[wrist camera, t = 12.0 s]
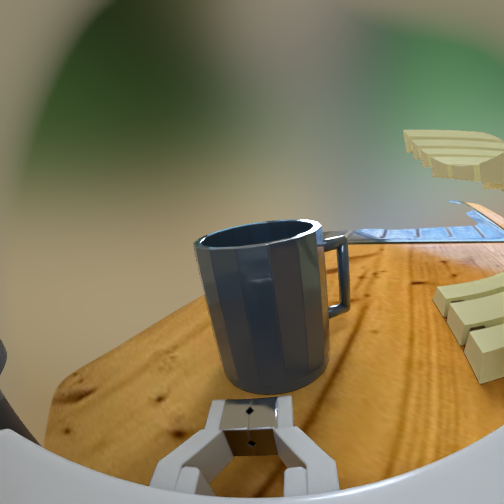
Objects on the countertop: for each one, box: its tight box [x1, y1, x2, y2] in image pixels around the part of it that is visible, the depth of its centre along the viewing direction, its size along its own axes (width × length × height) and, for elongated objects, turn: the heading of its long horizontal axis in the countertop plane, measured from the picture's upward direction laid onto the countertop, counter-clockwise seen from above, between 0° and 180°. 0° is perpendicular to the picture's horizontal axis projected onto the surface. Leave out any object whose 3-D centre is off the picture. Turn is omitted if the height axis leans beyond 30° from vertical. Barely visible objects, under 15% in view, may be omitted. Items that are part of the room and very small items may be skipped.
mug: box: [193, 220, 350, 394], centre depth 19 cm, size 11×8×10 cm
